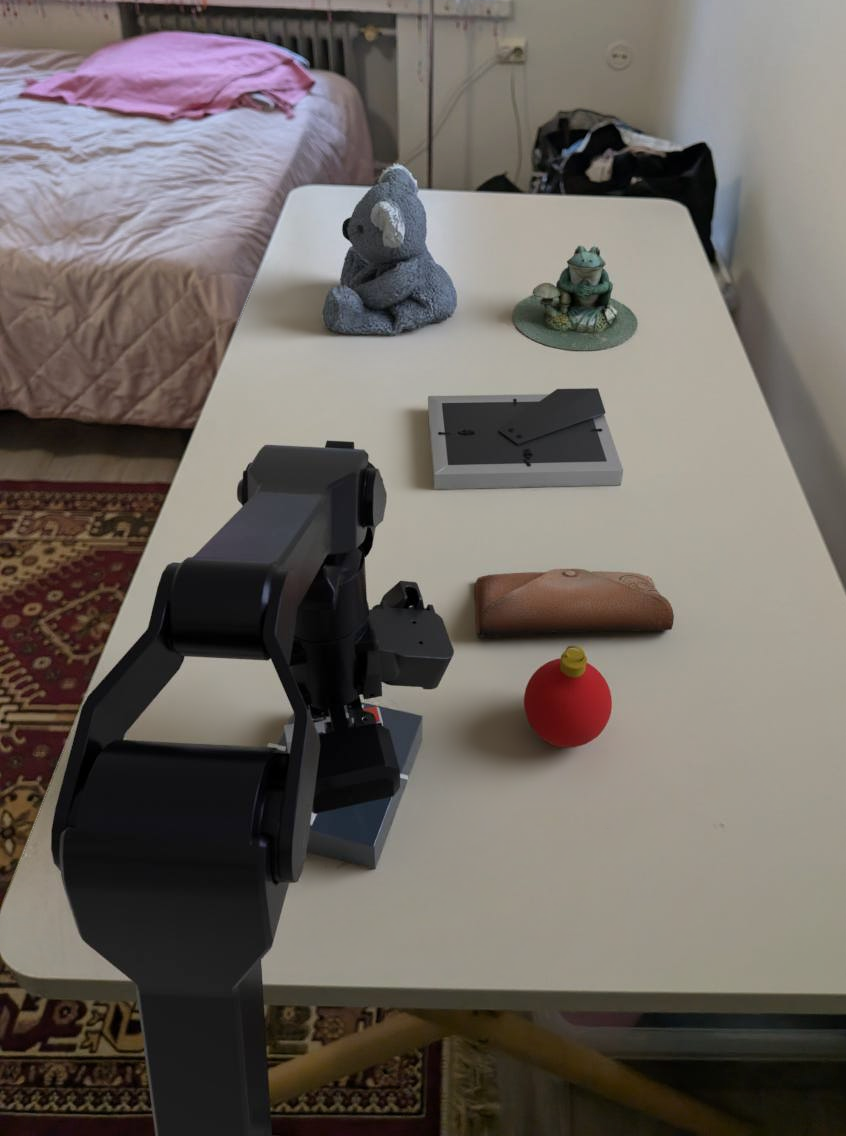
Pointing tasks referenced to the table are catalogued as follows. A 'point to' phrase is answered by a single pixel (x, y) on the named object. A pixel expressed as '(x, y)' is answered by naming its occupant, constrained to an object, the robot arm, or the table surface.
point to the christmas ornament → (568, 700)
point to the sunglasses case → (568, 603)
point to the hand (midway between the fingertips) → (336, 757)
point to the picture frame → (522, 441)
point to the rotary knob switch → (366, 825)
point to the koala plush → (389, 265)
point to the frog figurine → (576, 308)
